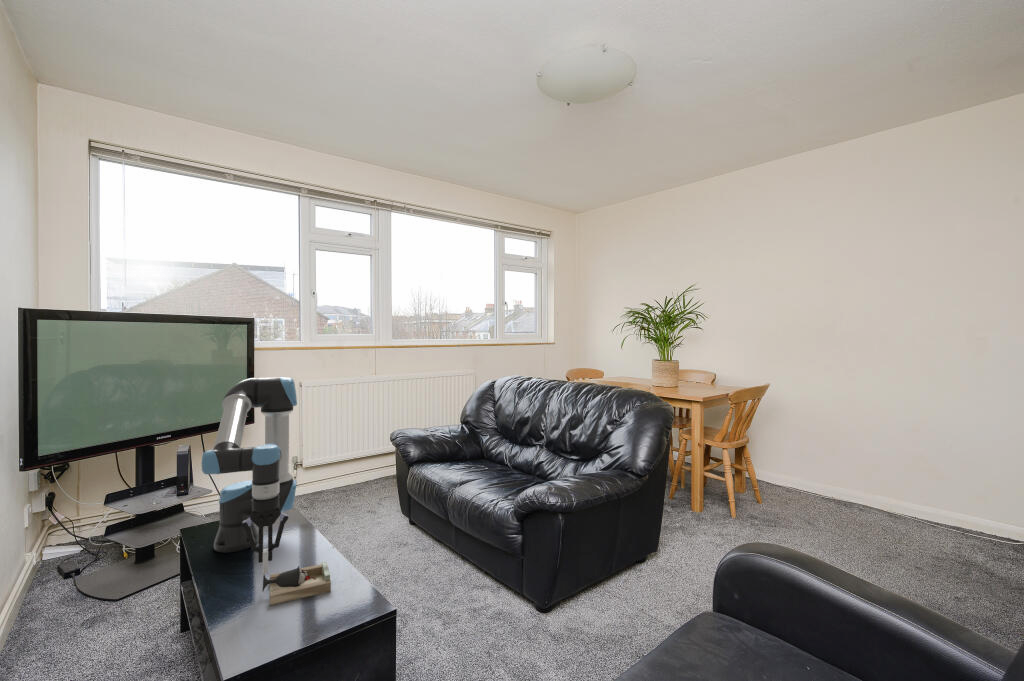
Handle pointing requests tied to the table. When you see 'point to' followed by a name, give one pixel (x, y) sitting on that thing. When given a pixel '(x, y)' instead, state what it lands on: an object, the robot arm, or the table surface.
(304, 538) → the table surface
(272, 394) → the robot arm
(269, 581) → the sundae
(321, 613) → the table surface
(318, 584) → the rest
